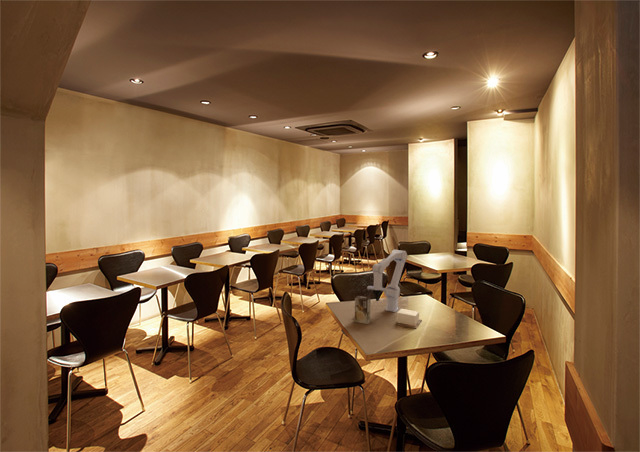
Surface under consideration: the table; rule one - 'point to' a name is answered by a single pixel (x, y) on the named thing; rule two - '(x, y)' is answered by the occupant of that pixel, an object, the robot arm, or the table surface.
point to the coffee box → (362, 309)
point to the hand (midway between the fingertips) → (377, 300)
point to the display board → (410, 325)
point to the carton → (408, 317)
